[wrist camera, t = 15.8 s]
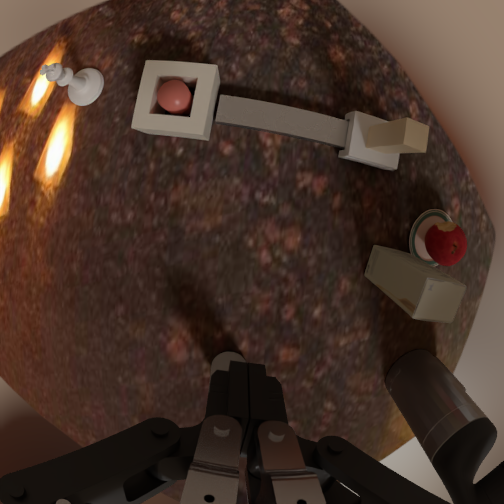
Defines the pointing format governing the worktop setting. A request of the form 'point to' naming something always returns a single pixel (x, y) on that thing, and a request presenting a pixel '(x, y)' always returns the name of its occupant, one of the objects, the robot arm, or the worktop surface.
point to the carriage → (382, 140)
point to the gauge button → (175, 98)
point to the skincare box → (415, 285)
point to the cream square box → (196, 79)
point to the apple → (437, 239)
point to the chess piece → (76, 82)
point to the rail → (282, 120)
